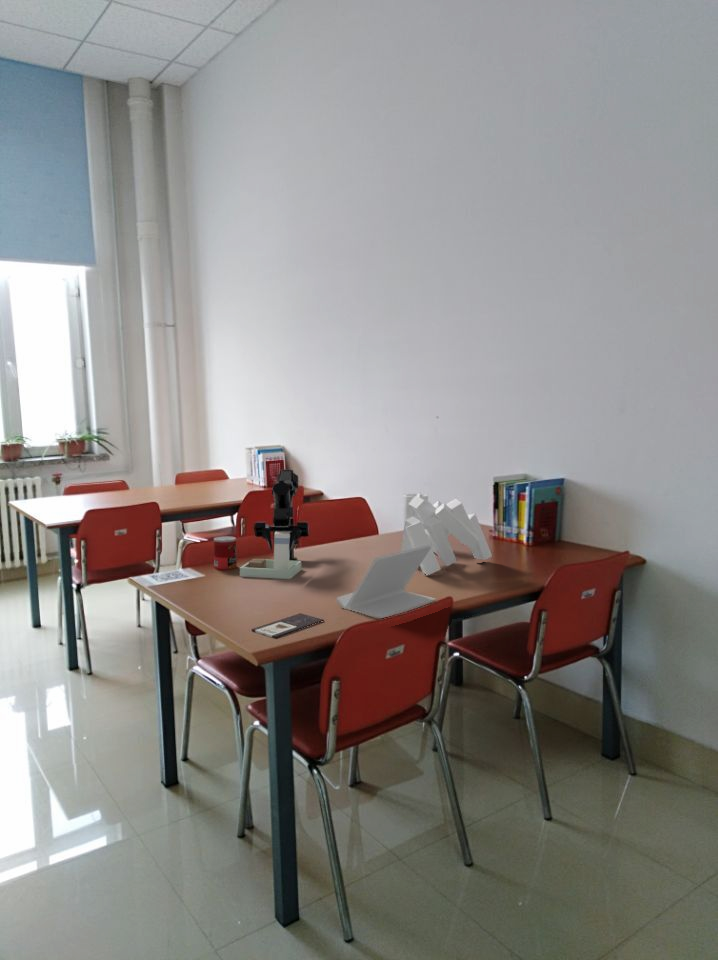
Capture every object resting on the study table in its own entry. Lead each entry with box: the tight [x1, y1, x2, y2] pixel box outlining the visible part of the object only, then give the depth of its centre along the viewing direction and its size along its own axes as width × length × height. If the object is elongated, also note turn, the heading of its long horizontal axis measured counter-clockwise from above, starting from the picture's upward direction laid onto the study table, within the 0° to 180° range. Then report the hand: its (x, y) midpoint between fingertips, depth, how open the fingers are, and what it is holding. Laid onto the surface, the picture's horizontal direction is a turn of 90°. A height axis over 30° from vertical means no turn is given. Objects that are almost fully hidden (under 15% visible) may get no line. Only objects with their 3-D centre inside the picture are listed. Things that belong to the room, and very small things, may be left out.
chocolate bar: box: [251, 613, 325, 639], centre depth 189 cm, size 9×1×18 cm
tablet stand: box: [336, 545, 436, 619], centre depth 209 cm, size 18×25×17 cm
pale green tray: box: [239, 558, 302, 580], centre depth 245 cm, size 14×18×4 cm
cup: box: [402, 493, 429, 529], centre depth 287 cm, size 10×10×22 cm
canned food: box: [213, 535, 238, 571], centre depth 252 cm, size 8×8×11 cm
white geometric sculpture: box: [400, 492, 493, 576], centre depth 254 cm, size 35×30×35 cm
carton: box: [273, 531, 290, 569], centre depth 244 cm, size 5×5×14 cm
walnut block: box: [248, 558, 267, 568], centre depth 246 cm, size 5×4×4 cm
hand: (280, 549), depth 242 cm, fingers open, 6 cm apart
